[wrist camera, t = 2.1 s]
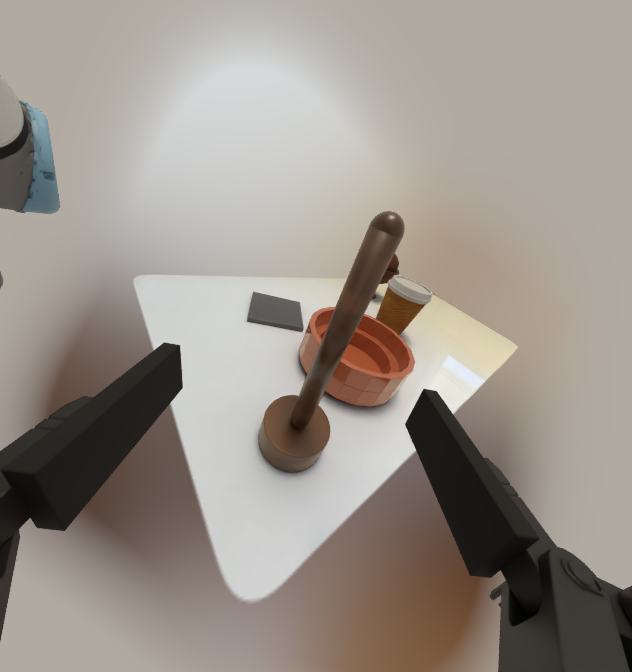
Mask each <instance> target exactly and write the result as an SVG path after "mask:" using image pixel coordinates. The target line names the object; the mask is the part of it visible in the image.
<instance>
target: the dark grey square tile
mask: <svg viewBox="0 0 632 672" xmlns="http://www.w3.org/2000/svg"><path fill="white" fill-rule="evenodd" d="M247 321H249V322H255V323H260V324H265V325H270V326H276V327H281V328H286V329H292V330H297V331H303V322H302V315H301V308H300V302H296V301H292V300H287V299H283V298H278V297H274V296H270V295H265V294H261V293H256V292H253V295H252V300H251V304H250V309H249V314H248V319H247Z"/></svg>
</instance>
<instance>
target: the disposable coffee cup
mask: <svg viewBox="0 0 632 672" xmlns="http://www.w3.org/2000/svg"><path fill="white" fill-rule="evenodd" d="M431 296H432V292H431V290H429V289H428V288H427V287H425V286H424V285H422V284H420V283H419V282H417V281H414V280H412V279H410V278H407V277H404V276H400V275H394V276H393V277H392V279H390V280H389V281H388V288H387V291H386V293H385V296H384V298H383V301H382V304H381V306H380V309H379V312H378V314H377V317H376V320H378V321H380V322H382V323H384V324H385V325H386V326H388V327H389V328H391V329H392V330H393V331H395V332H396V333H397V334H398V335H400V334H401V333H402V332H403V331H404V329H405V328H406V327H407V326H408V325H409V323H410V322H411V321H412V320H413V319H414V318H415V316H416V315H417V314H418V313H419V312H420V310H421V309H422V308H423V307H424V306H425V305H426V304H427V303H428V302H430V301H431Z"/></svg>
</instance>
